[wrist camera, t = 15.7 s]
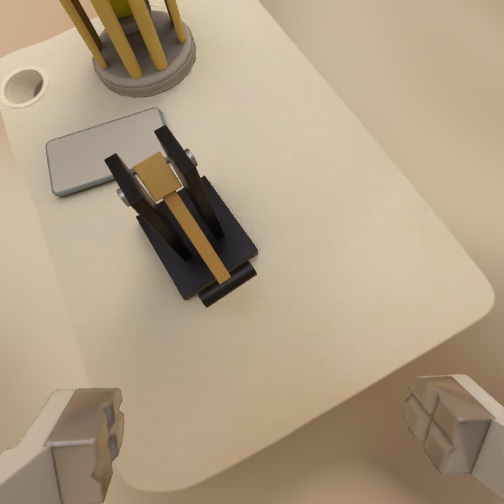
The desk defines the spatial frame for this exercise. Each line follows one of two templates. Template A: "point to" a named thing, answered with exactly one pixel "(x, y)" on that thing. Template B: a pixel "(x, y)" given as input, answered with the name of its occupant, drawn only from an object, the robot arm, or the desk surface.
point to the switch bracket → (169, 229)
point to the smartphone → (102, 151)
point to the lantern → (136, 45)
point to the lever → (191, 228)
